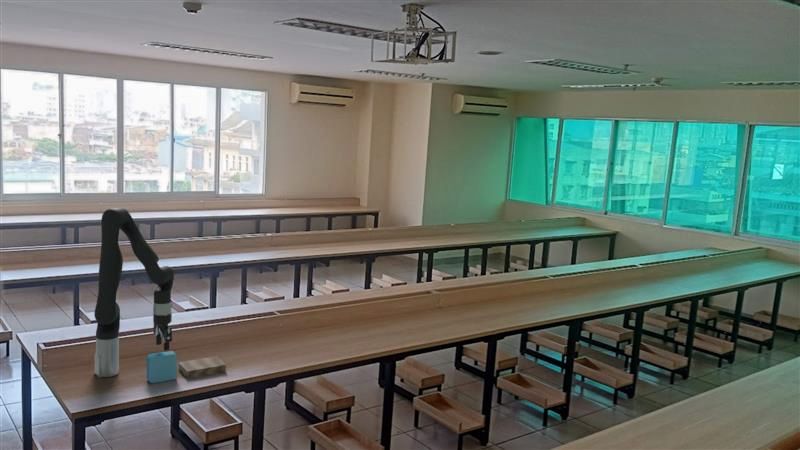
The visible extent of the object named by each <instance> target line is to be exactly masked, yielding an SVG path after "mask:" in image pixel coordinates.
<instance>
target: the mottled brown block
mask: <svg viewBox="0 0 800 450" xmlns="http://www.w3.org/2000/svg"><path fill="white" fill-rule="evenodd" d="M178 371H180V373H181V374H182V375H183V376H184V377H185V379H188V378H189V379H194V377H195V378H199V377H200V376H201V377H205V376H212V375H216V374H222V373H226V372H227V364H225V362H224V361H223V360H221V359H220V358H219V357H218V356H210V357H204V358H203V357H202V358H196V359H191V360H185V361H179V362H178Z"/></svg>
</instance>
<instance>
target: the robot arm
mask: <svg viewBox="0 0 800 450" xmlns="http://www.w3.org/2000/svg"><path fill="white" fill-rule="evenodd" d="M100 222H101V223H100V224H101V226H100V227H101V244H100V245H101V246H100V256H99V266H98V288H97V289H98V290H97V291H98V293H97V299H96V304H95V309H94V319H95V321H96V322H97V324H96V325H97V326H96V331H95V352H94V374H95V375H96V376H97V378H110V377H114V376H116V375H118V374H119V373H120V372H119V371H120V369H119V368H120V367H119V366H120V364H119V361H120V360H119V359H120V358H119V356H120V354H119V352H120V351H119V350H120V349H119V347H120V345H119V343H120V342H119V341H120V337H119V335H120V327H121V325H120V324H121V309H120V306H119V304H118V302H117V292H118V289H119V285H120V282H121V279H122V278H121V277H122V274H123V265H124V261H123V260H124V258H123V257H124V256H123V254H122V251H121V249H120V245H119V235H120V231H122V232H123V234H125V236H126V237H127V239H128V240H129V243H130V246H131V249H132V252H133V254H134V256H135V257H136V258H137V260H138V261H139V262H140V263H141V265H142V266H143V267H144V270H145V273H146V274H147V277H148V278H149V281H151V283H153V284H154V285H157V287H156V288H155V289H154V291H153V305H152V314H153V315H152V316H153V317H152V318H153V320H152V322H153V335H155V345H157V346H159V345H162V339H163V351H164V352H168V351H170V343H172V342H173V333H172V328H171V327H169V324H171V323H172V320H173V319H172V316H173V315H172V314H173V313H172V296H171V295H172V293H171V292H172V289H173V285H174V284H173V283H174V280H175V273H174V270H173V269H172V268H171V267H170V266H168V265H164V266H161V267H160V266H159V264H158V262H159V260H160V258H159V256H158V255H157V253H156V252H155V251H154V249H153V248H152V247H151V246H150V245H149V243H148V242H147V241H146V239H145V237H144V236H143V235H142V233H141V231H140V229H139V227H138V226H137V224H136V222H135V221H134V218H133V217H132V215H131V213H130V212H129V211H128V210H127V209H126V208H124V207H120V206H119V207H114V208H108V209H106V210H105V211H104V212H103V213H102V215H101V221H100Z"/></svg>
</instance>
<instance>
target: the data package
mask: <svg viewBox="0 0 800 450" xmlns="http://www.w3.org/2000/svg"><path fill="white" fill-rule="evenodd" d="M177 376H178V355H177V354H176V353H175V351H173V350H167V351H161V352H155V353H149V354H148V355H147V357H146V379H147V381H148V382H149V383H150V384H155V383H160V382H161V383H162V382H166V381H167V382H168V381H174V380H176V378H178V377H177Z"/></svg>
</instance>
